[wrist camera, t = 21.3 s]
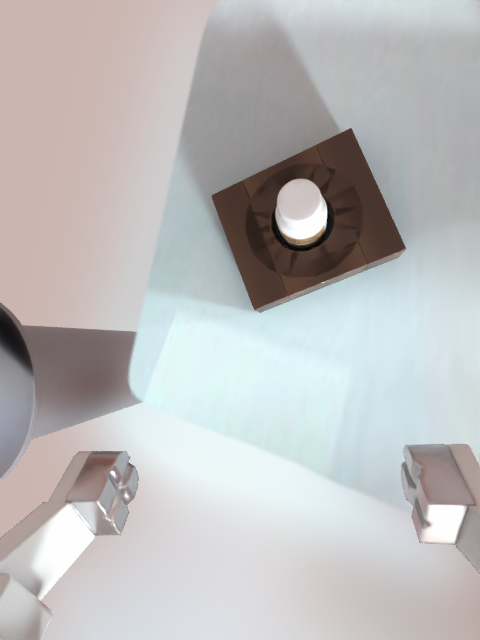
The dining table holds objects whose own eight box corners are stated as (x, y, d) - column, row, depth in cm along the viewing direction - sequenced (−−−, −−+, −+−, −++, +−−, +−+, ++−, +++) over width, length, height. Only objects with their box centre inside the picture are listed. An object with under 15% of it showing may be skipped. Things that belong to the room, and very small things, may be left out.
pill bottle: (283, 255, 35) (273, 231, 28) (279, 212, 35) (268, 177, 28) (328, 249, 34) (330, 223, 27) (324, 205, 34) (325, 167, 27)
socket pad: (259, 312, 35) (254, 310, 32) (219, 207, 37) (210, 195, 34) (398, 257, 33) (406, 248, 30) (348, 145, 34) (351, 127, 31)
